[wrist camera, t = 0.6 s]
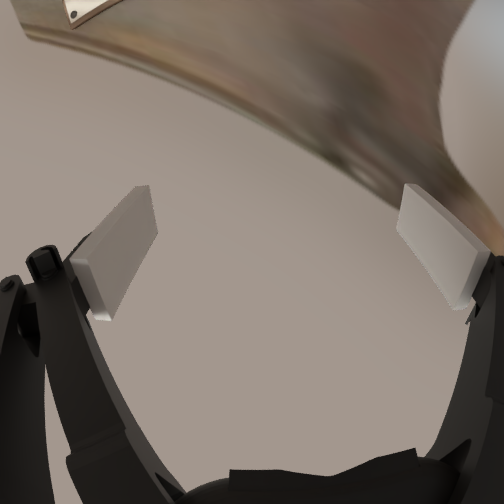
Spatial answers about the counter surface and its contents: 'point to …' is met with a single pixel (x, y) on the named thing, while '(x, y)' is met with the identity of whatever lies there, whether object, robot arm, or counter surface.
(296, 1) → the counter surface
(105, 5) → the coaster board
